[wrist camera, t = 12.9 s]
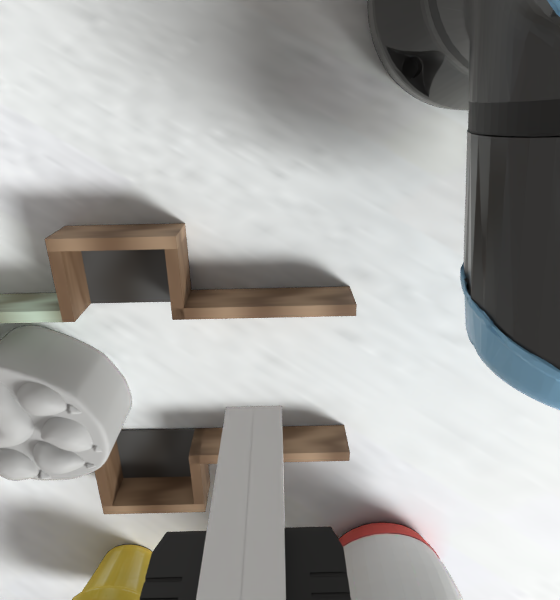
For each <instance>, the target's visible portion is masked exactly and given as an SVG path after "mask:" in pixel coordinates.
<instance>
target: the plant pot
mask: <svg viewBox="0 0 560 600" xmlns="http://www.w3.org/2000/svg"><path fill="white" fill-rule="evenodd" d="M151 554H152V551H150V550H149V549H147V548H144V547H142V546H138V545H130V544H129V545H121V546H117V547H115V548H113V549H111V550H110V551H109V552H108V553H107V554H106V555H105V557H104V558H103V560H102V562H101V563H100V565H99V566H98V568H97V569H96V571H95V572H94V574H93V576H92V577H91V579H90V580H89V582H88V583H87V585H86V586H85V588H84V589H83V591H82V592H81V593H79V594H78V595H76V596H75V597H74V598H73V599H72V600H140V595H141V591H142V588H143V584H144V583H145V576H146V573H147V569H148V565H149V561H150V558H151Z"/></svg>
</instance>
